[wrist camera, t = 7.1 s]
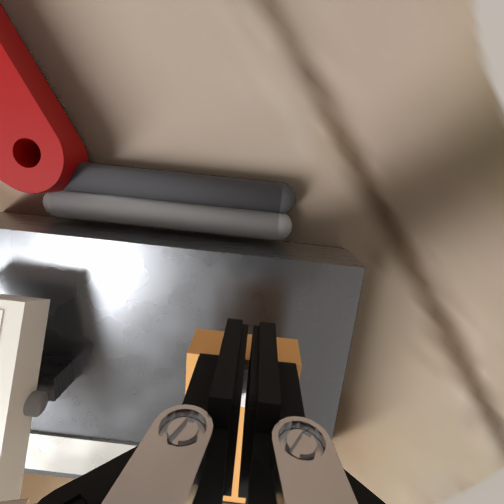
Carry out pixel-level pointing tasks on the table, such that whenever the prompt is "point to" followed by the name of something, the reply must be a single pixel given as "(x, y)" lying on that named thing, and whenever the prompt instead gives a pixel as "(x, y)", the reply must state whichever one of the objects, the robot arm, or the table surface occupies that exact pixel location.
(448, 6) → the table surface
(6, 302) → the block
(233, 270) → the breaker strip
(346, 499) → the robot arm
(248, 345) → the breaker lever
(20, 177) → the lever
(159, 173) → the twin grey rods
